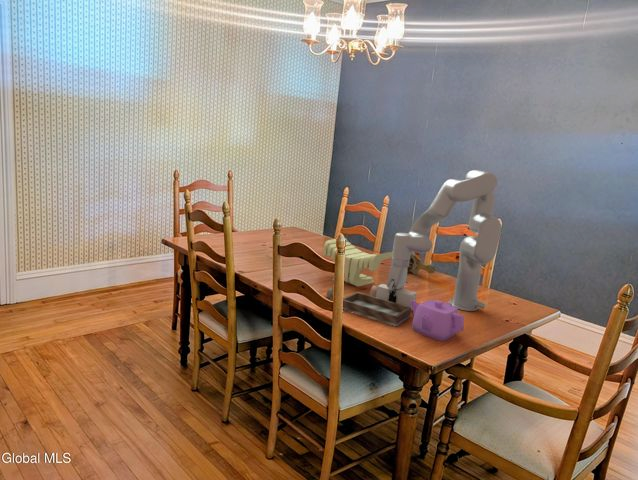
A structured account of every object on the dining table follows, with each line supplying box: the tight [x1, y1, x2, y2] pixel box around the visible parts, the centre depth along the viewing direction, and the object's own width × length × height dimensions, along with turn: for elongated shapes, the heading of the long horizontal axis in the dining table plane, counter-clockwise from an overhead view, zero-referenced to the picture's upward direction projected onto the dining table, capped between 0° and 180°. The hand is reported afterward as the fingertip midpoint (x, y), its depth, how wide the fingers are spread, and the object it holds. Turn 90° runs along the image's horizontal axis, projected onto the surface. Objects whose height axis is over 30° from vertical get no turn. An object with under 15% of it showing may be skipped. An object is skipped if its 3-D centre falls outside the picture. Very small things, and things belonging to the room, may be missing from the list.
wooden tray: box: [342, 291, 412, 327], centre depth 194 cm, size 25×14×4 cm, turn 56°
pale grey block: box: [369, 283, 417, 311], centre depth 207 cm, size 19×5×7 cm, turn 58°
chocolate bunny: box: [325, 277, 335, 300], centre depth 206 cm, size 6×8×10 cm
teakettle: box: [410, 299, 465, 342], centre depth 180 cm, size 17×17×12 cm
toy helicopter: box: [407, 252, 436, 275], centre depth 254 cm, size 8×21×14 cm, turn 39°
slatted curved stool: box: [322, 237, 393, 287], centre depth 233 cm, size 30×16×18 cm, turn 47°
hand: (394, 302), depth 207 cm, fingers open, 5 cm apart
